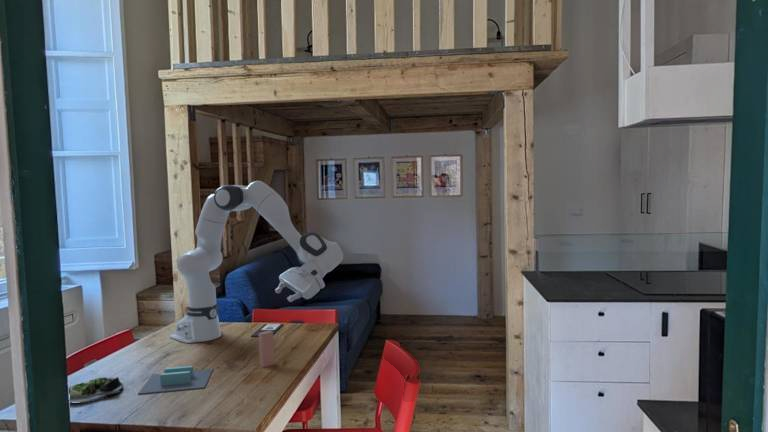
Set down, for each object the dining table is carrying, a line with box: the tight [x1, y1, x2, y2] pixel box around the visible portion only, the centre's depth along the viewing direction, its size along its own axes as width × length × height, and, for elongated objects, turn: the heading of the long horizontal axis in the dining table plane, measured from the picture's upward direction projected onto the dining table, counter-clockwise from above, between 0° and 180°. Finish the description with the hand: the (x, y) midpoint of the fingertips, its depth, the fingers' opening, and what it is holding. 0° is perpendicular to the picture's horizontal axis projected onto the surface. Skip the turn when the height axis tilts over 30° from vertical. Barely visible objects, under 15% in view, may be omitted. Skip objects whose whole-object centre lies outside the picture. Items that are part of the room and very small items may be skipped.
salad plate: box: [68, 376, 124, 405], centre depth 153 cm, size 19×18×5 cm
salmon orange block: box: [258, 331, 275, 368], centre depth 175 cm, size 4×2×12 cm, turn 135°
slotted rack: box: [160, 365, 195, 386], centre depth 162 cm, size 9×6×4 cm
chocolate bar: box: [250, 323, 284, 338], centre depth 218 cm, size 9×1×18 cm
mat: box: [137, 368, 214, 395], centre depth 162 cm, size 20×16×1 cm
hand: (282, 296), depth 182 cm, fingers open, 8 cm apart
